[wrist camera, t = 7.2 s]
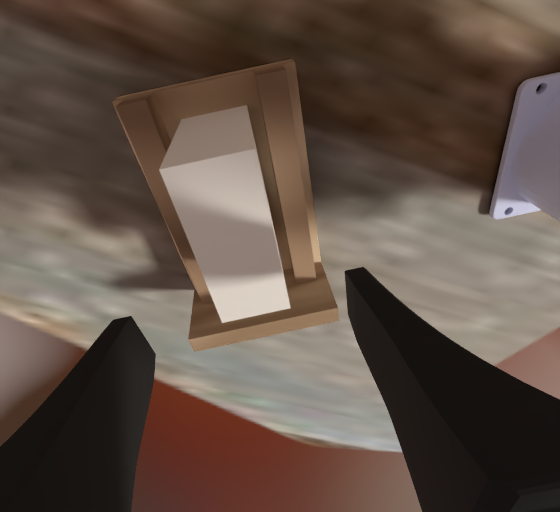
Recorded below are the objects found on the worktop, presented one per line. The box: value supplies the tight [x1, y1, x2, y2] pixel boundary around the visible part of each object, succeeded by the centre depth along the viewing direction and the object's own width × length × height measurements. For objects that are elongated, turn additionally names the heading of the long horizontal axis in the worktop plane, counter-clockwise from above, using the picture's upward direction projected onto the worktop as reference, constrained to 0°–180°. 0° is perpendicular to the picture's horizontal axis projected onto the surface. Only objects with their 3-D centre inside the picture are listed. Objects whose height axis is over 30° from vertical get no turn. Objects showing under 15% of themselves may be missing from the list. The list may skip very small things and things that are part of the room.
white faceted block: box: [159, 105, 291, 323], centre depth 15 cm, size 3×7×6 cm, turn 10°
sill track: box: [111, 59, 339, 351], centre depth 17 cm, size 12×8×5 cm, turn 10°
